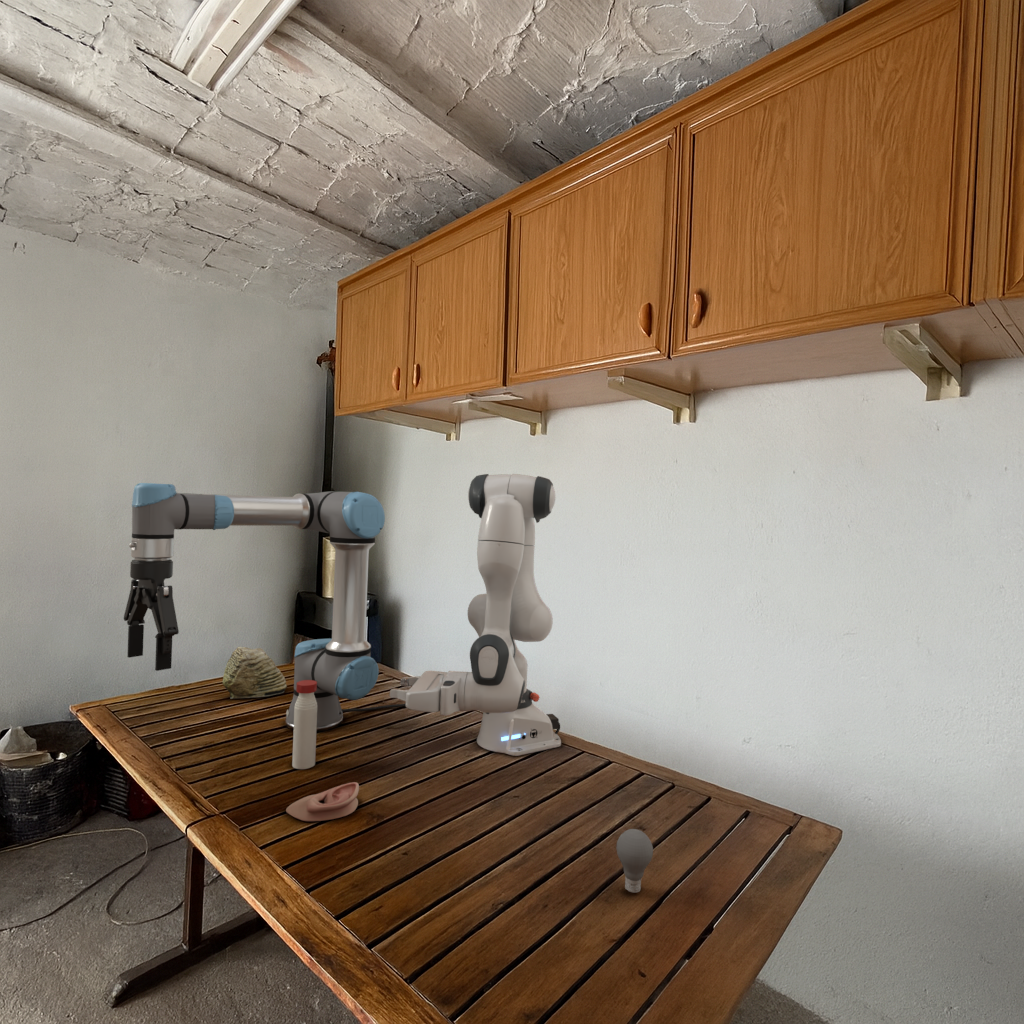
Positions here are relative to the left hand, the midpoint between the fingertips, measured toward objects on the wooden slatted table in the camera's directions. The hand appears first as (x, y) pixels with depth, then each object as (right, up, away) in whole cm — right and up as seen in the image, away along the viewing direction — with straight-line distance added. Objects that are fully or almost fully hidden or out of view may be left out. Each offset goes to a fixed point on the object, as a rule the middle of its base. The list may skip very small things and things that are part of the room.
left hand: (148, 662), depth 129 cm
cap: (+26, -10, +20) cm, 34 cm away
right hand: (+47, -10, +19) cm, 52 cm away
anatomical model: (+36, -30, -1) cm, 46 cm away
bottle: (+25, -29, +20) cm, 43 cm away
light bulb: (+94, -33, -24) cm, 103 cm away
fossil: (-6, -27, +69) cm, 74 cm away
